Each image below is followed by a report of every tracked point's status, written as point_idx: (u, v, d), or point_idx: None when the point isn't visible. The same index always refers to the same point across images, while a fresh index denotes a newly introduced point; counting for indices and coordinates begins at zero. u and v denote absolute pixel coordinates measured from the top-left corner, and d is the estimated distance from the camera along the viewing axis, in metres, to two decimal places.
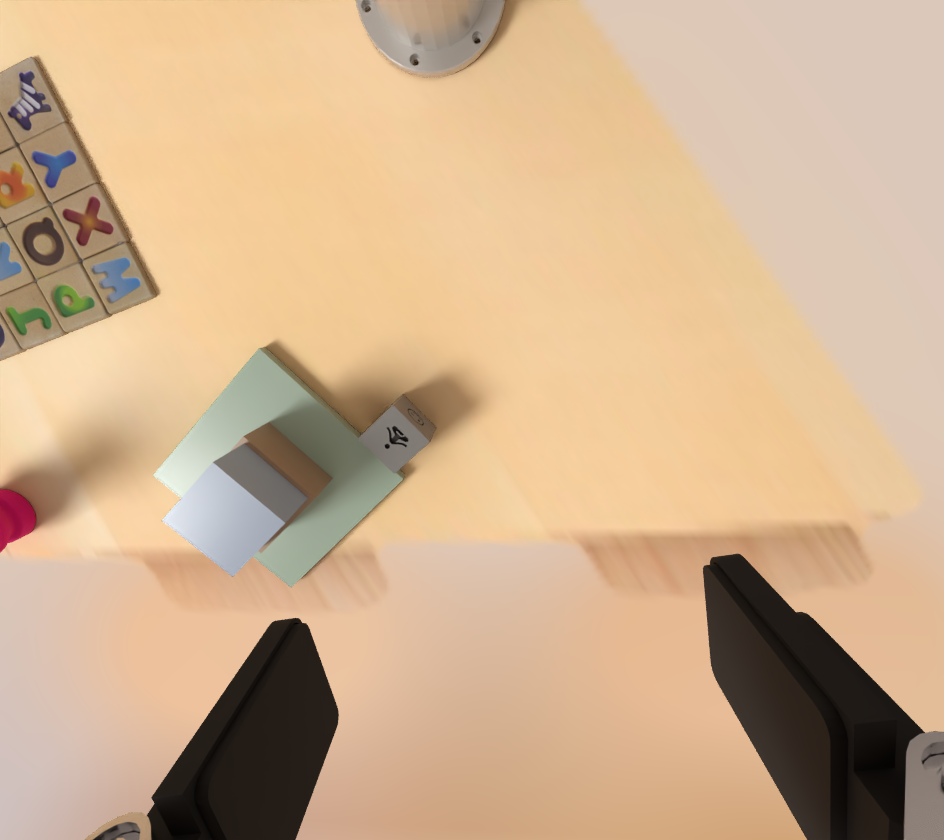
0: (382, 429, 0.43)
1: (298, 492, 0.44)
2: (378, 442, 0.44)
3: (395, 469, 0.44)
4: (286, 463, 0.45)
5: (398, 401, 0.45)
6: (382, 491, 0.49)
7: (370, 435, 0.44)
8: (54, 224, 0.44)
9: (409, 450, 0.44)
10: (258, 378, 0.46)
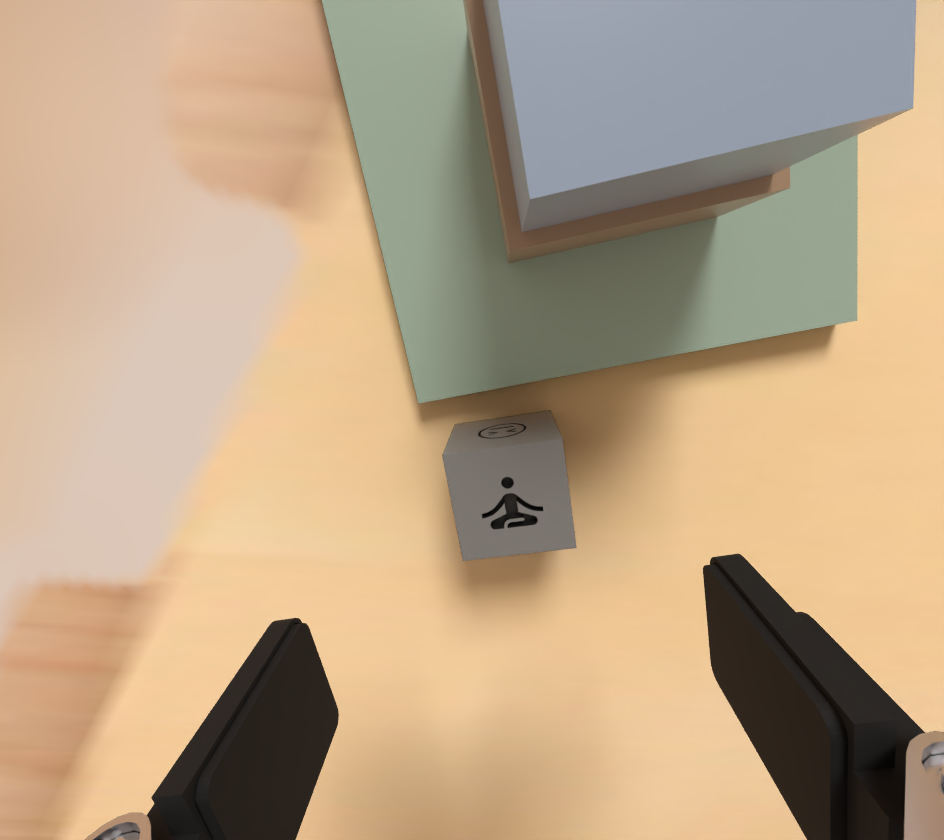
0: (545, 497, 0.19)
1: (554, 223, 0.15)
2: (526, 472, 0.19)
3: (450, 464, 0.19)
4: (632, 227, 0.16)
5: None
6: (417, 346, 0.21)
7: (551, 467, 0.18)
8: None
9: (470, 516, 0.19)
10: (810, 270, 0.19)
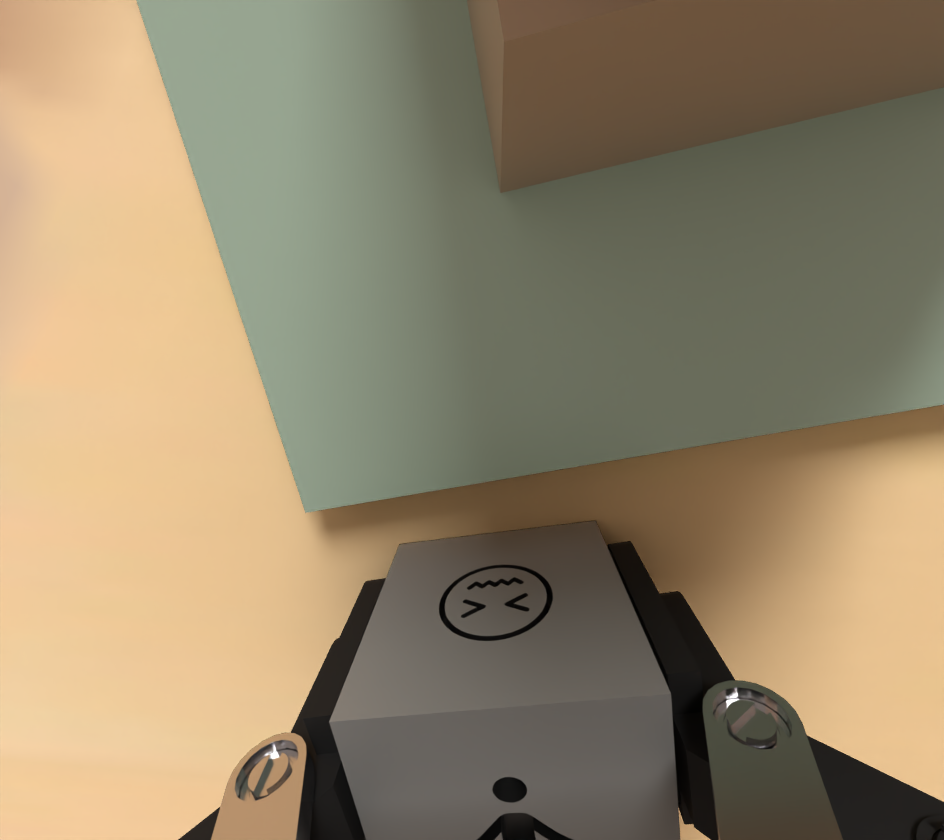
0: (613, 826, 0.07)
1: None
2: (562, 768, 0.07)
3: (352, 742, 0.07)
4: None
5: None
6: (295, 390, 0.09)
7: (631, 761, 0.07)
8: None
9: None
10: None
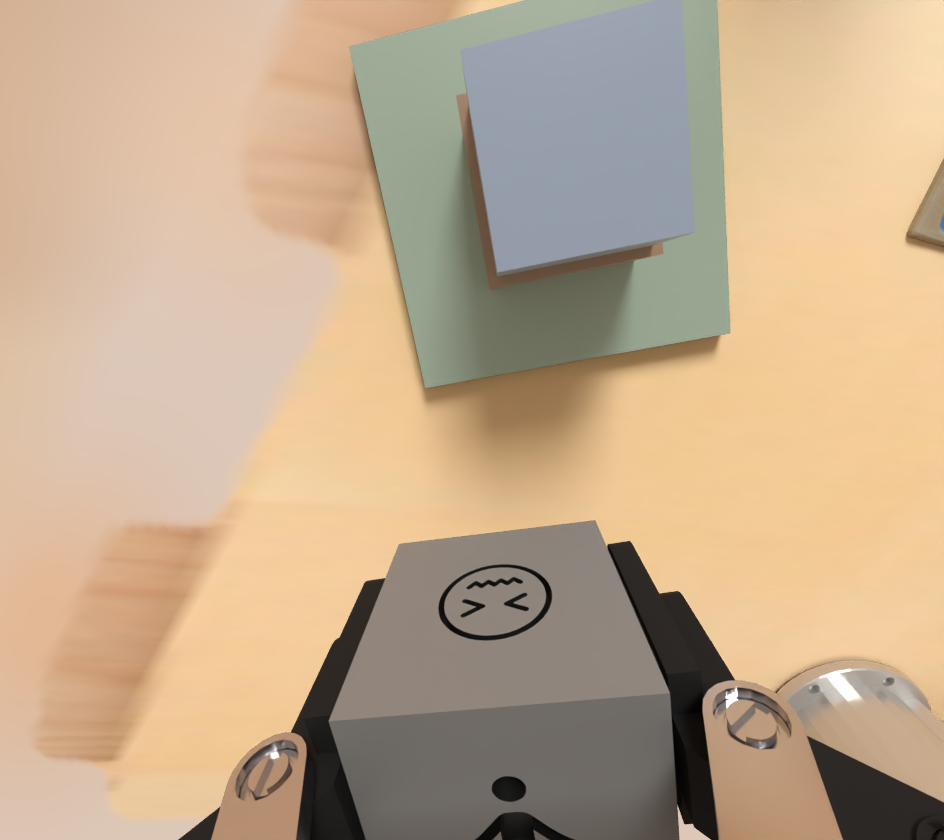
0: (612, 825, 0.07)
1: (517, 272, 0.23)
2: (561, 767, 0.07)
3: (351, 741, 0.07)
4: None
5: None
6: (425, 346, 0.30)
7: (630, 760, 0.07)
8: None
9: None
10: (697, 298, 0.28)
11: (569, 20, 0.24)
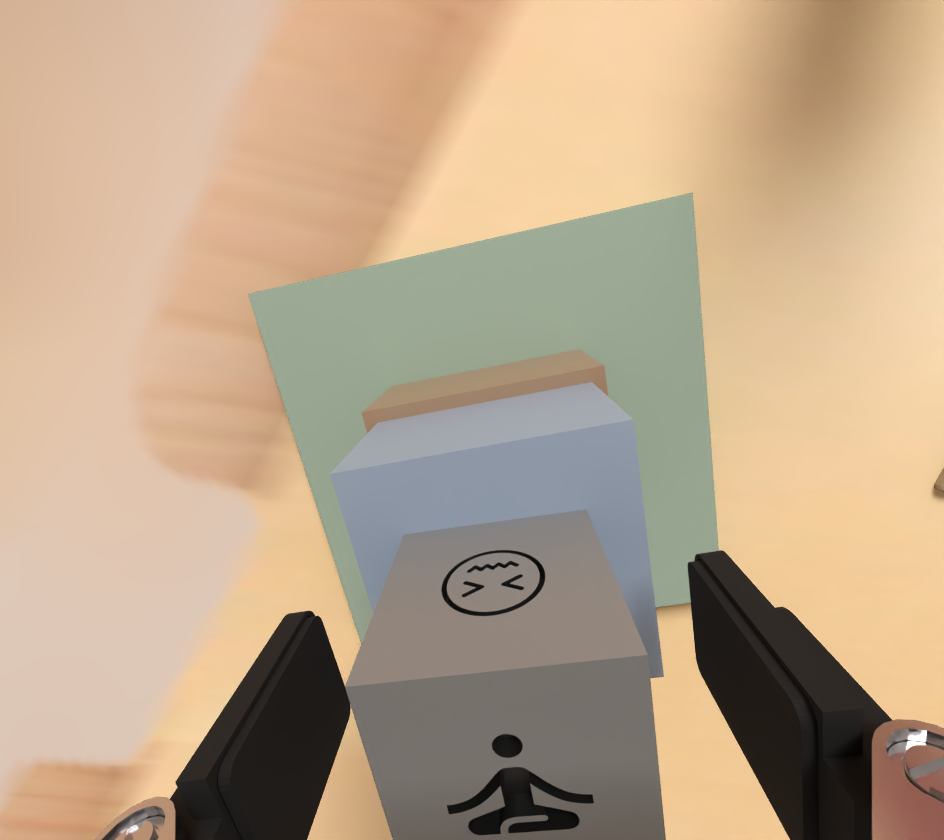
0: (600, 777, 0.08)
1: None
2: (553, 724, 0.08)
3: (365, 705, 0.08)
4: None
5: None
6: (360, 605, 0.25)
7: (615, 716, 0.07)
8: None
9: (421, 808, 0.08)
10: (682, 562, 0.23)
11: (514, 268, 0.20)
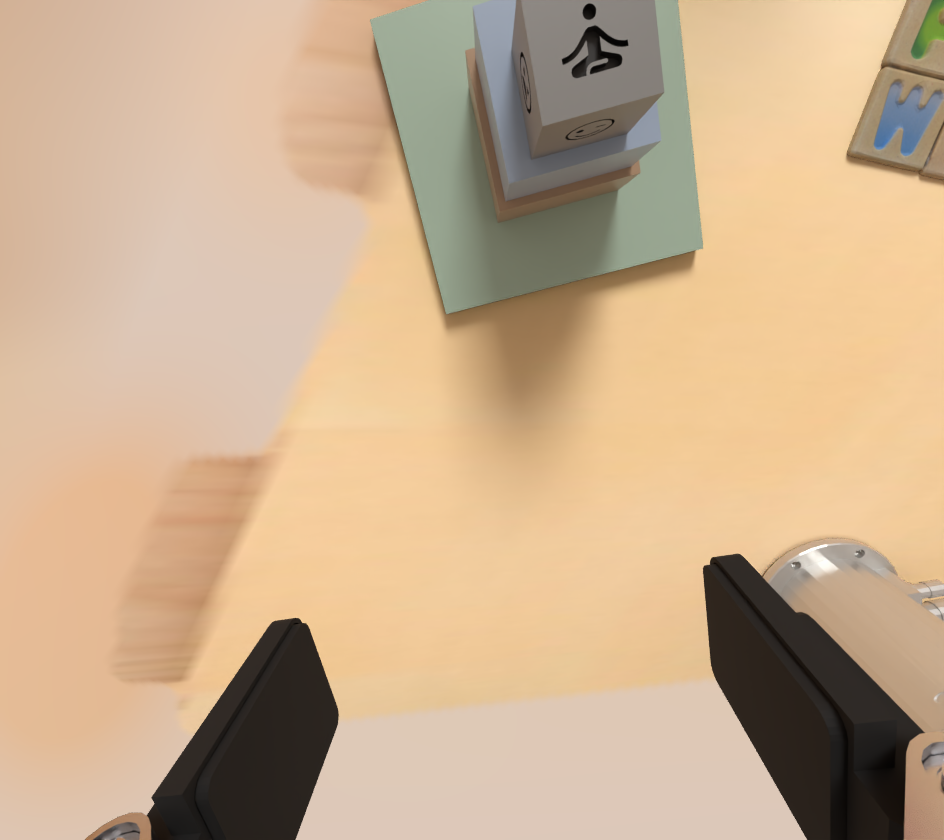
0: (631, 27, 0.18)
1: (522, 196, 0.28)
2: None
3: None
4: (564, 196, 0.29)
5: (643, 112, 0.20)
6: (444, 277, 0.35)
7: None
8: None
9: (550, 63, 0.18)
10: (673, 219, 0.33)
11: None
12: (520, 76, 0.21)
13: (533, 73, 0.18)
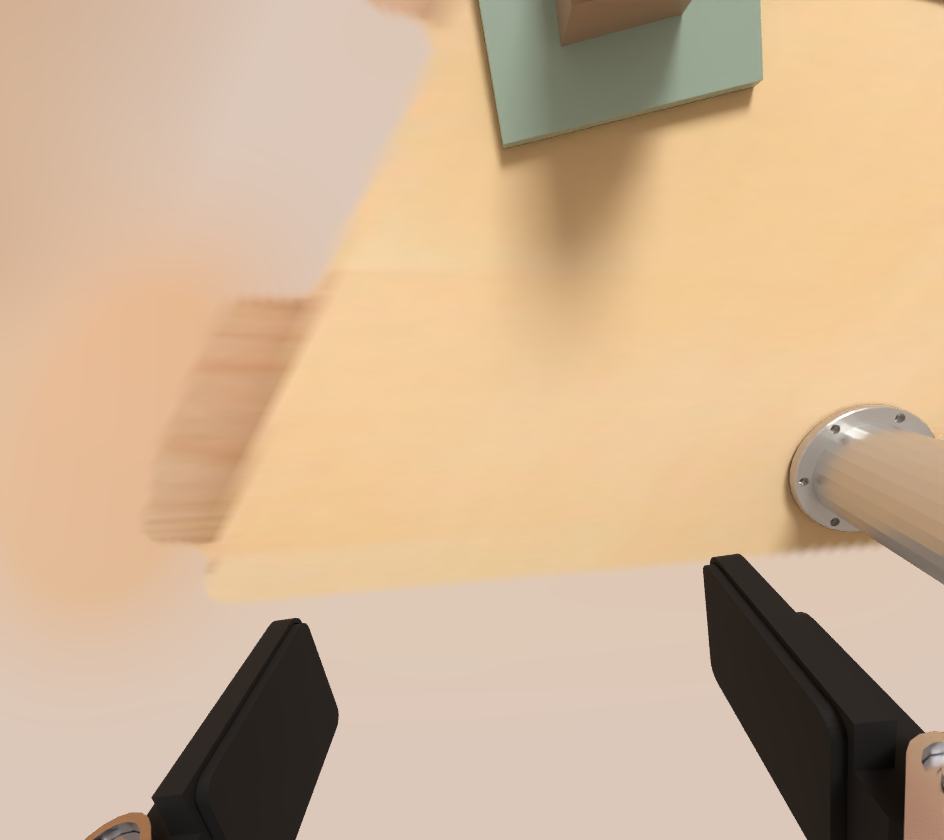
0: None
1: None
2: None
3: None
4: None
5: None
6: (504, 104, 0.35)
7: None
8: None
9: None
10: (735, 47, 0.33)
11: None
12: None
13: None
